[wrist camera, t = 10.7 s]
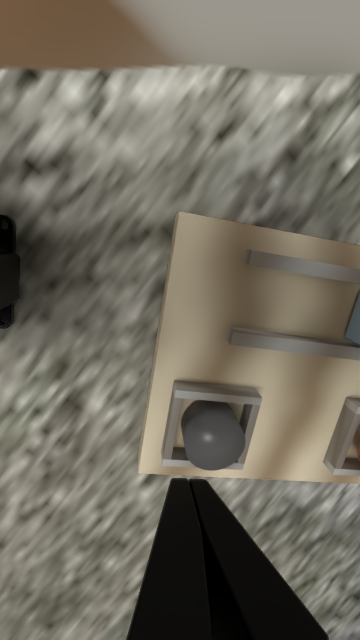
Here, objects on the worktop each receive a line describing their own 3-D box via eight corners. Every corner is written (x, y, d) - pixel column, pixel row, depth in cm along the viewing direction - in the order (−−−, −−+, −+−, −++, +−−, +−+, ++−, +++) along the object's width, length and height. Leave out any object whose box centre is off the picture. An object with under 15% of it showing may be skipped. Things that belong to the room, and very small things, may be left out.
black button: (176, 443, 20) (180, 469, 18) (186, 395, 19) (191, 416, 17) (228, 447, 20) (238, 471, 18) (240, 400, 19) (251, 421, 17)
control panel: (138, 452, 22) (137, 487, 19) (175, 213, 18) (182, 210, 15) (374, 465, 25) (405, 498, 22) (457, 266, 21) (511, 272, 18)
